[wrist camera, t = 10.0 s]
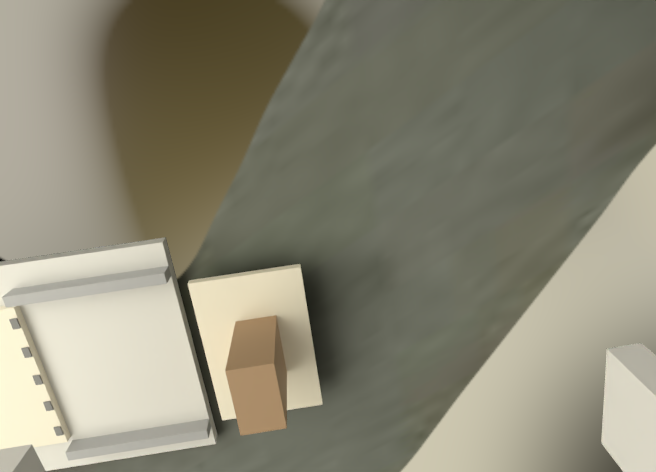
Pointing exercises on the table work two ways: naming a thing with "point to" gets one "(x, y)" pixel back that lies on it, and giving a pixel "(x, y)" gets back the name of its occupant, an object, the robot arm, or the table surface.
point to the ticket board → (98, 357)
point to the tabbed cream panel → (257, 345)
